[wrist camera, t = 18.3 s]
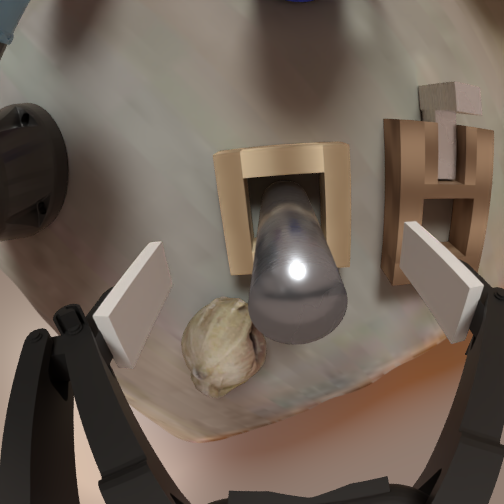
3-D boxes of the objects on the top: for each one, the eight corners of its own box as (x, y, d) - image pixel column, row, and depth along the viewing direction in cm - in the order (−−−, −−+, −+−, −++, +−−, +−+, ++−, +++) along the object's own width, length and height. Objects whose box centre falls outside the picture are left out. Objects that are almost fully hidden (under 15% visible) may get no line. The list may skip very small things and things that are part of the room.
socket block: (383, 118, 21) (399, 119, 18) (472, 127, 20) (493, 130, 17) (380, 267, 27) (392, 285, 24) (460, 258, 26) (476, 274, 23)
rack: (235, 259, 28) (230, 275, 25) (219, 150, 24) (212, 155, 21) (342, 251, 27) (349, 266, 24) (340, 141, 23) (349, 144, 20)
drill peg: (263, 226, 26) (253, 346, 13) (259, 182, 25) (242, 266, 11) (309, 223, 26) (344, 340, 12) (306, 178, 24) (349, 259, 11)
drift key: (418, 86, 19) (454, 81, 14) (441, 89, 19) (480, 87, 14) (421, 173, 23) (456, 189, 17) (443, 173, 23) (480, 190, 17)
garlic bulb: (239, 335, 35) (226, 413, 28) (177, 304, 32) (152, 387, 25) (294, 304, 29) (288, 401, 22) (223, 263, 26) (197, 370, 19)
